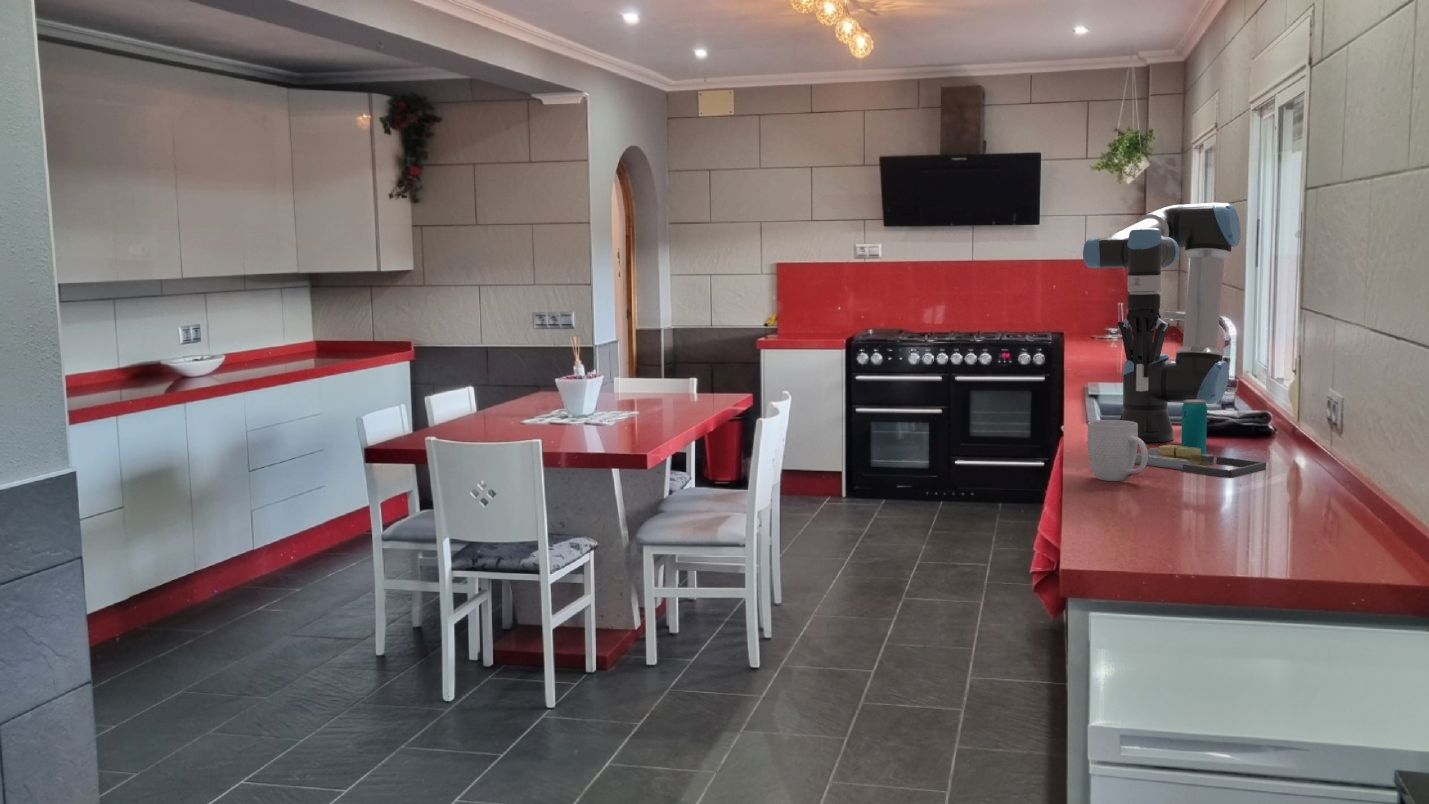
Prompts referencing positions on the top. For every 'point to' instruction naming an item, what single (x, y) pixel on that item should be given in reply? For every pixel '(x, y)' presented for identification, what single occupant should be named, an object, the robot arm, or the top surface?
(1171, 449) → the tan block
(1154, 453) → the slot board
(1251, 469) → the tray
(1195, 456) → the tan cardboard cube
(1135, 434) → the mug
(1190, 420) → the beverage can
